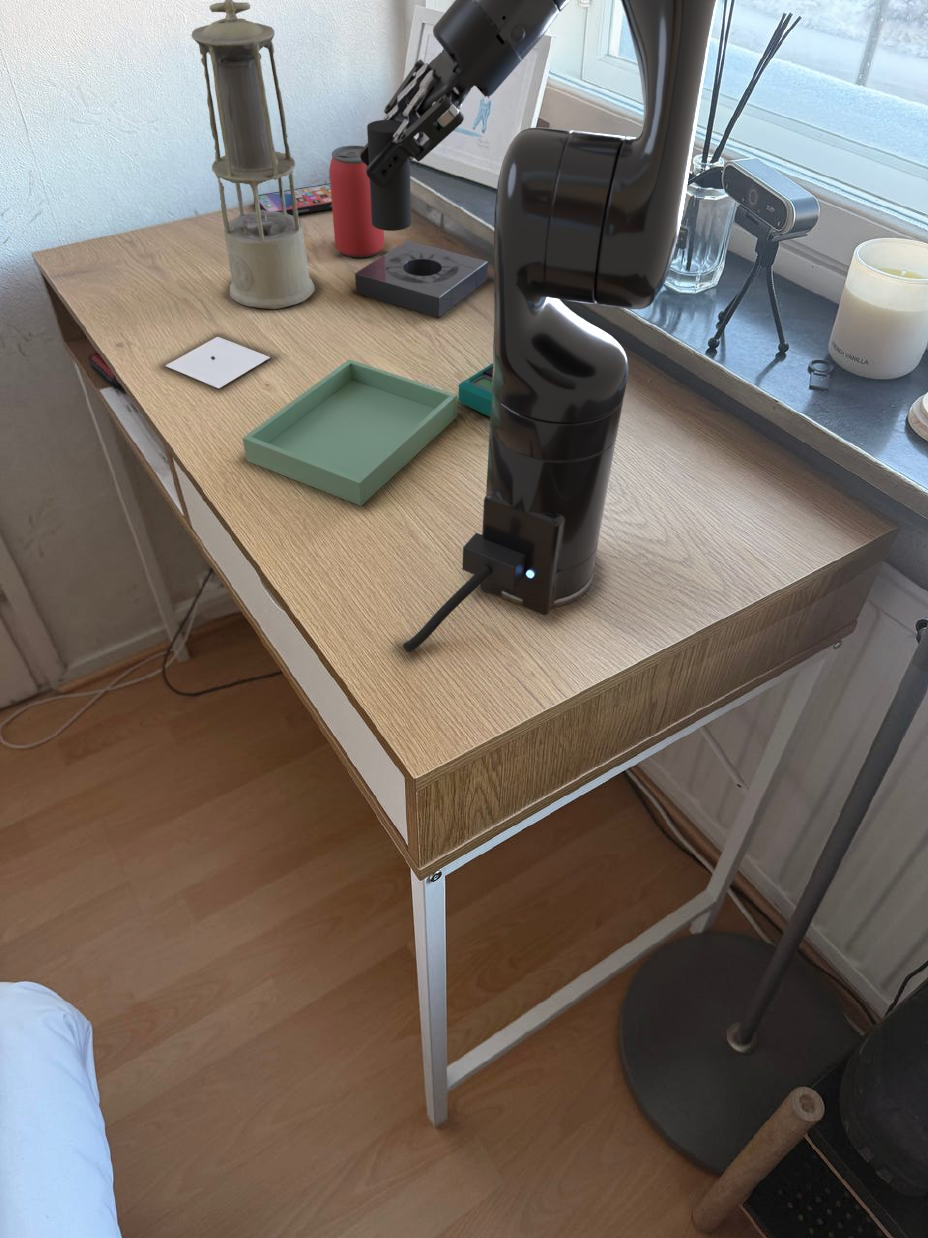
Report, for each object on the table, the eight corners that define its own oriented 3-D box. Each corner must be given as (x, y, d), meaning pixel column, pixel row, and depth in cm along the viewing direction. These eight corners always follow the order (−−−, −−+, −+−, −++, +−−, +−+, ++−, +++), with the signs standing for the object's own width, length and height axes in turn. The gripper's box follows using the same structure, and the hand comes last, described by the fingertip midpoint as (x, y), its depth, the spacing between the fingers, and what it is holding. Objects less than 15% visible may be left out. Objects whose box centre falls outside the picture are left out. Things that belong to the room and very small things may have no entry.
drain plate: (438, 317, 104) (439, 297, 102) (356, 293, 108) (354, 273, 106) (487, 280, 111) (488, 260, 109) (407, 258, 115) (407, 239, 113)
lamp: (232, 312, 103) (179, 10, 82) (226, 266, 112) (177, -18, 91) (319, 305, 105) (289, 8, 84) (307, 260, 114) (278, -20, 92)
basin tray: (361, 506, 78) (359, 483, 76) (246, 460, 83) (242, 437, 81) (457, 416, 89) (457, 394, 87) (350, 380, 93) (349, 358, 91)
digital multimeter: (590, 373, 96) (593, 348, 93) (512, 431, 87) (514, 405, 85) (535, 351, 99) (537, 327, 97) (455, 405, 90) (455, 380, 88)
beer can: (331, 241, 118) (322, 145, 110) (378, 236, 120) (373, 141, 111) (340, 261, 114) (333, 163, 105) (389, 256, 115) (386, 159, 107)
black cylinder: (397, 233, 87) (394, 134, 80) (364, 225, 88) (358, 127, 82) (418, 221, 89) (417, 123, 83) (385, 213, 91) (382, 116, 84)
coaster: (270, 357, 96) (269, 350, 95) (218, 388, 91) (217, 381, 91) (217, 336, 99) (216, 330, 98) (164, 365, 94) (163, 359, 93)
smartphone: (251, 195, 126) (347, 180, 131) (252, 202, 127) (348, 186, 132) (267, 213, 122) (366, 196, 127) (268, 220, 123) (366, 203, 127)
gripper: (451, -29, 81) (332, 120, 87) (487, 3, 71) (349, 169, 78) (503, 37, 85) (386, 174, 92) (543, 76, 76) (408, 226, 82)
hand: (370, 171), depth 85 cm, fingers closed on black cylinder, 4 cm apart
